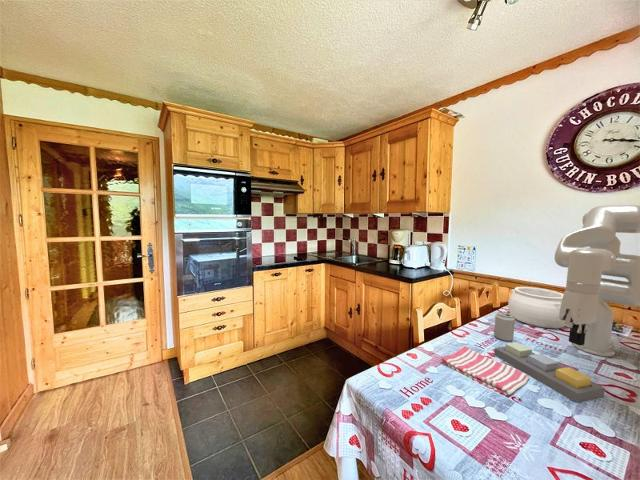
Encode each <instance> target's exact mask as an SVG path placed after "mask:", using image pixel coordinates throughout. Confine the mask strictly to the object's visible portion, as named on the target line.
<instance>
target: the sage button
mask: <svg viewBox="0 0 640 480" xmlns="http://www.w3.org/2000/svg"><path fill="white" fill-rule="evenodd" d="M504 344H505V346H504V347H505V350H506V351H507V352H509V353H511V354H513V355H515V356H517V357H519V358H524V357H528V355H532V352H533V349H532V348H530V347H528V346H526V345H523V344H521V343H520V342H516V341H515V342H509V343H504Z"/></svg>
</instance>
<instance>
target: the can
mask: <svg viewBox="0 0 640 480" xmlns="http://www.w3.org/2000/svg"><path fill="white" fill-rule="evenodd" d="M513 316H514V315H512V314H511V313H510V312H506V311H497V313H496V314H495V317H494V328H493V331H494V332H493V335H494V337H495V338H496V339H498V340H500V341H503V342H504V341H505V342H511V341H514V335H515V324H516V319H515V318H514V317H513Z"/></svg>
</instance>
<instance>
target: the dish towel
mask: <svg viewBox="0 0 640 480" xmlns="http://www.w3.org/2000/svg"><path fill="white" fill-rule="evenodd" d="M441 361H442V364H443V365H445V366H447V367H449V368H450V369H452V370H453V371H456V372H457V373H460V374H462V375H464V376H466V377H468V378H469V379H471V380H474V381H475V382H477V383H480V384H482V385H484V386H486V387H488V388H489V389H492V390H493V391H495V392H498V393H500V394H503V395H505V396H507V397H508V396H511V395H512V394H513V393H515V392H516V390H519V388H521V387H523V386H525V385H526V384H527V383H528V380H530V377H529V376H530V375H528V374H526V373H524V372H523V371H521V370H519V369H517V368H516V367H514V366H512V365H507V364H505V363H502V362H499V361H496V360H494V359H492V358H489V357H487V356H484V355H483V354H481V353H480V352H478V351H475V350H473V349H471V348H469V347H467V346H466V345H464V346H461V347H460V348H459V349H458V350H457V351H456V352H453V353H451V354H449V355H444V356H442V357H441Z"/></svg>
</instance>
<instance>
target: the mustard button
mask: <svg viewBox="0 0 640 480" xmlns="http://www.w3.org/2000/svg"><path fill="white" fill-rule="evenodd" d="M555 377H556V378H558V379H560V380H562V381H564V382H565V383H567V384H569V385H571V386H573V387H575V388H577V389H580V388H584V387H589V386H590V383H591V381H592V377H591V376H588V375H586V374H584V373H582V372H581V371H578V370H576V369H573V368H572V367H570V366H567V367H564V368H561V369H556V375H555Z"/></svg>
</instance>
